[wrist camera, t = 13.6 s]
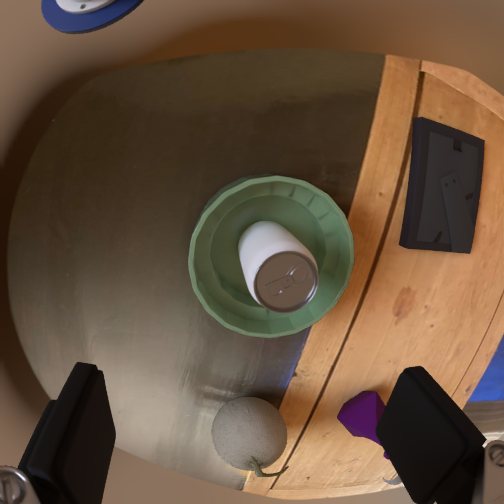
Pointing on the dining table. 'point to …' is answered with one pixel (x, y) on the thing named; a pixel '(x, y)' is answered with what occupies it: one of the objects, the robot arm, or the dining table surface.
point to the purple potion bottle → (364, 418)
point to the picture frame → (442, 188)
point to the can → (277, 267)
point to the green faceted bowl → (291, 218)
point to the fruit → (249, 434)
